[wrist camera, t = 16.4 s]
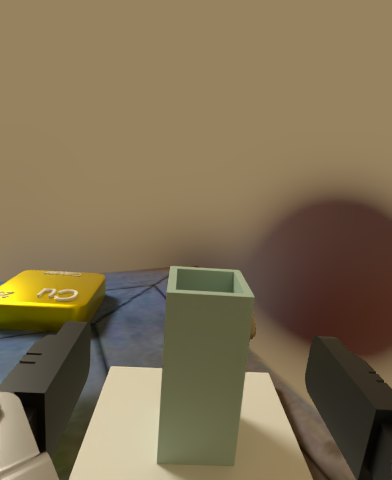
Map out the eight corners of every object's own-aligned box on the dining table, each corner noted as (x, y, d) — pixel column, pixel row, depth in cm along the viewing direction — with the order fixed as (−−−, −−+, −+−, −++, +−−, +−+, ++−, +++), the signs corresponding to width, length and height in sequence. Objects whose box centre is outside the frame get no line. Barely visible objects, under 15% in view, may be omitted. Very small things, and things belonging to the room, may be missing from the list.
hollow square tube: (234, 466, 24) (254, 297, 21) (156, 463, 24) (166, 292, 21) (222, 397, 32) (236, 264, 29) (163, 394, 31) (171, 260, 28)
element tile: (107, 294, 59) (107, 270, 58) (83, 335, 45) (83, 304, 44) (26, 290, 59) (25, 266, 58) (-26, 330, 44) (-29, 298, 43)
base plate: (343, 581, 19) (373, 457, 17) (39, 580, 18) (34, 447, 16) (266, 384, 37) (276, 312, 35) (110, 378, 36) (112, 303, 34)
